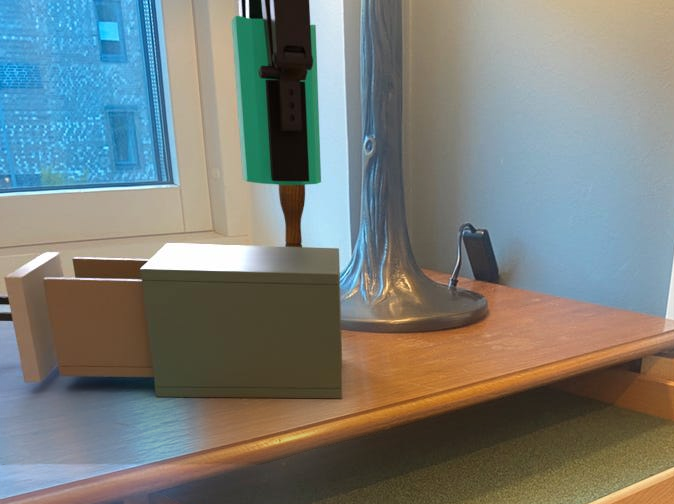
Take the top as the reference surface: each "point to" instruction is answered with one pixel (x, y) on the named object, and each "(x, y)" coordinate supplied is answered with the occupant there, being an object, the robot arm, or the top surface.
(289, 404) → the top surface
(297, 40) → the robot arm
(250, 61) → the candle
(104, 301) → the drawer
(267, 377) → the cabinet
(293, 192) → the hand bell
